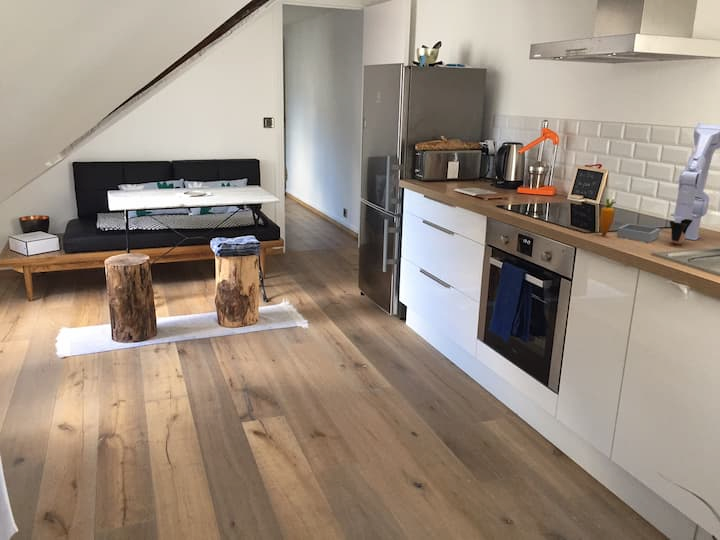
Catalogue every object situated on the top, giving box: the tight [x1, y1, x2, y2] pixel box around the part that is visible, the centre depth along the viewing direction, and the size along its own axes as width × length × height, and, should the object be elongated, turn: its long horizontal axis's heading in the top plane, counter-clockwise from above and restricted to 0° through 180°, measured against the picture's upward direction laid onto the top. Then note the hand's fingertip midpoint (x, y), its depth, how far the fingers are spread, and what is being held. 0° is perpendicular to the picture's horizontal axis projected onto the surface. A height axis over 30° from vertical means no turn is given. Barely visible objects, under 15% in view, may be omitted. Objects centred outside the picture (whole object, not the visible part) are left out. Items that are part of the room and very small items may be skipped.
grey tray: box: [616, 223, 661, 244], centre depth 235 cm, size 14×12×4 cm
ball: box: [670, 232, 686, 245], centre depth 226 cm, size 5×5×5 cm
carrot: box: [599, 197, 617, 237], centre depth 231 cm, size 5×5×15 cm
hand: (677, 239), depth 226 cm, fingers open, 7 cm apart
